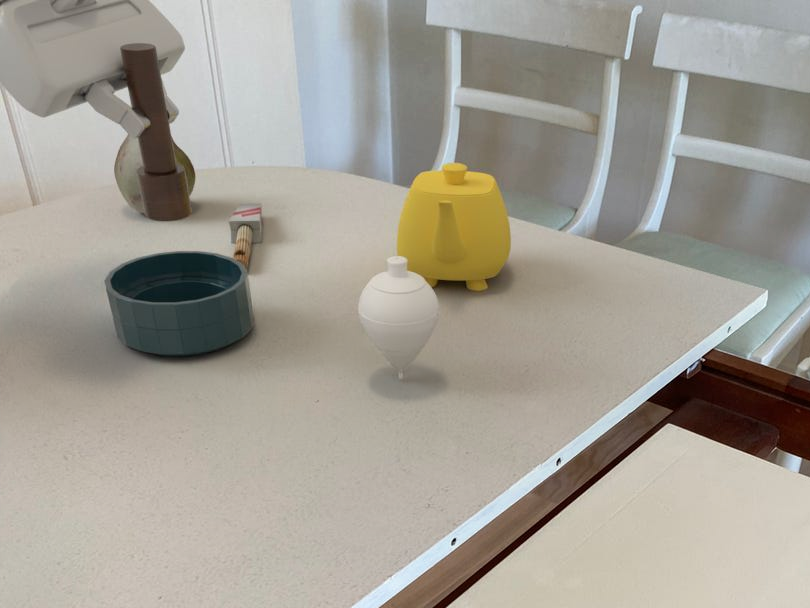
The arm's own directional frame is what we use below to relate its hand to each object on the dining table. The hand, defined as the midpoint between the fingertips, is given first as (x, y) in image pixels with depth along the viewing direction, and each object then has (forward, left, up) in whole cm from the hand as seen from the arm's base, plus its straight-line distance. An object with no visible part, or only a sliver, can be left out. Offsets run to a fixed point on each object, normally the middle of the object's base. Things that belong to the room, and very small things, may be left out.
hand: (157, 126), depth 88 cm
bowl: (-1, +3, -21) cm, 21 cm away
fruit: (-11, +41, -21) cm, 47 cm away
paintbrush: (+2, +29, -21) cm, 35 cm away
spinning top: (+22, -8, -21) cm, 31 cm away
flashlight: (-1, 0, -8) cm, 8 cm away
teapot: (+28, +18, -21) cm, 39 cm away
